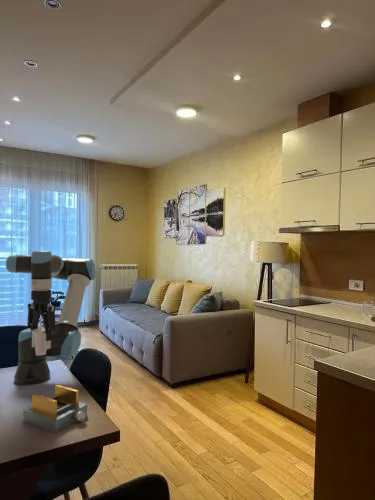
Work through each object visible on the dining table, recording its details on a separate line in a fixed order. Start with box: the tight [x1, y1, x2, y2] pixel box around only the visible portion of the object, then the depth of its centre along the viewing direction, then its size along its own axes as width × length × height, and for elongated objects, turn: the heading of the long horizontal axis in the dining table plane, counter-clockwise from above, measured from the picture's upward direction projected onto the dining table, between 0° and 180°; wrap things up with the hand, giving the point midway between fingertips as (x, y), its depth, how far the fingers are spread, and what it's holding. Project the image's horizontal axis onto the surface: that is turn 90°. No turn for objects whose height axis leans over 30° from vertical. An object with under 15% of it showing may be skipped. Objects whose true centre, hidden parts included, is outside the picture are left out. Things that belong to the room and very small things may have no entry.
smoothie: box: [33, 318, 47, 356], centre depth 140 cm, size 6×6×14 cm
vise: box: [22, 384, 88, 434], centre depth 124 cm, size 19×14×9 cm
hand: (41, 347), depth 140 cm, fingers closed on smoothie, 6 cm apart
